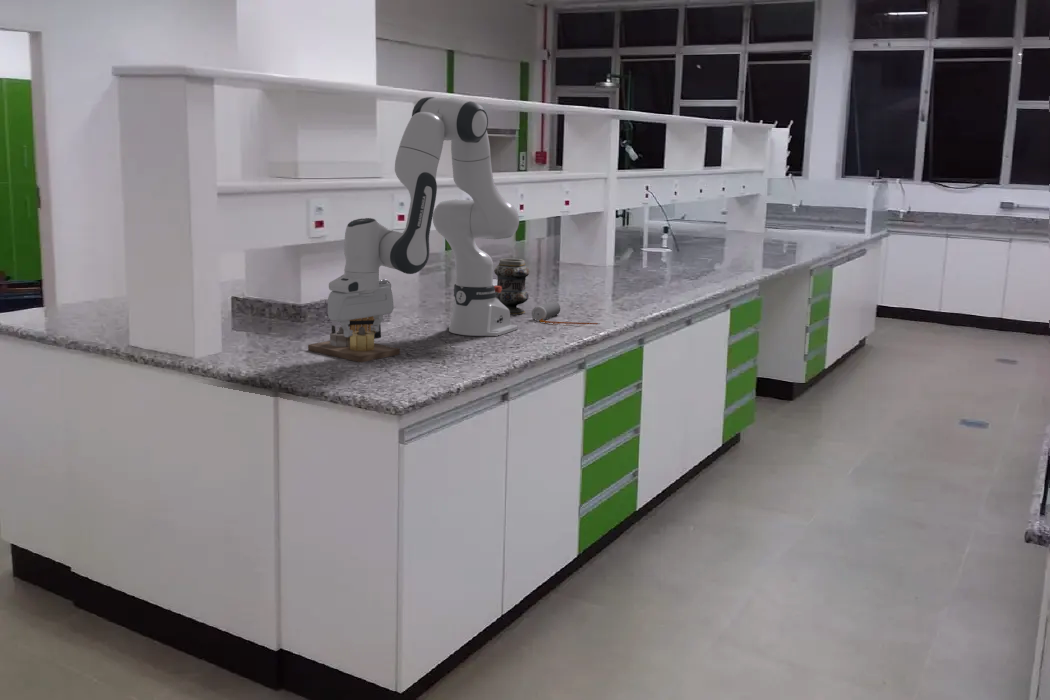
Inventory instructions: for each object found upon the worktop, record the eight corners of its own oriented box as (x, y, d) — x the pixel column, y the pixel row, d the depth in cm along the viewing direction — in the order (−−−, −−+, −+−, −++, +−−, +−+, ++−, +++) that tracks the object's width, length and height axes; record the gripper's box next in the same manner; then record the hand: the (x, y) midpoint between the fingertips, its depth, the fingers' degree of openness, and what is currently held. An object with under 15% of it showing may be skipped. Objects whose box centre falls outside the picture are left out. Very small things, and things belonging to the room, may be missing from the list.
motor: (525, 321, 302) (528, 306, 301) (550, 311, 322) (553, 297, 321) (592, 340, 294) (595, 325, 293) (614, 329, 314) (617, 315, 313)
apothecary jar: (531, 310, 323) (533, 258, 319) (523, 316, 311) (525, 262, 307) (497, 308, 325) (499, 256, 321) (488, 313, 314) (489, 260, 310)
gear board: (347, 342, 260) (347, 316, 258) (399, 354, 248) (400, 327, 246) (308, 350, 249) (307, 323, 247) (360, 362, 237) (360, 334, 235)
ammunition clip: (343, 338, 265) (343, 296, 262) (342, 337, 267) (342, 295, 264) (381, 337, 269) (381, 296, 266) (379, 336, 270) (379, 295, 268)
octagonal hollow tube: (362, 344, 251) (362, 330, 250) (379, 348, 247) (379, 333, 246) (345, 348, 246) (345, 333, 245) (361, 351, 242) (361, 336, 241)
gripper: (382, 277, 253) (382, 327, 256) (323, 284, 237) (324, 337, 240) (399, 279, 249) (398, 330, 252) (340, 286, 233) (340, 341, 236)
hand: (361, 334), depth 246 cm, fingers open, 8 cm apart
